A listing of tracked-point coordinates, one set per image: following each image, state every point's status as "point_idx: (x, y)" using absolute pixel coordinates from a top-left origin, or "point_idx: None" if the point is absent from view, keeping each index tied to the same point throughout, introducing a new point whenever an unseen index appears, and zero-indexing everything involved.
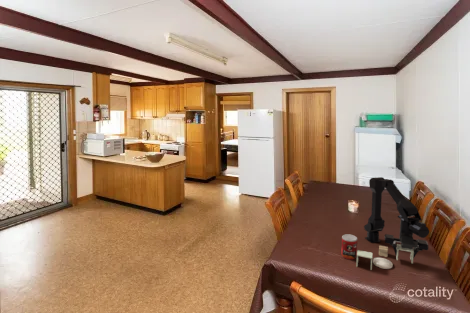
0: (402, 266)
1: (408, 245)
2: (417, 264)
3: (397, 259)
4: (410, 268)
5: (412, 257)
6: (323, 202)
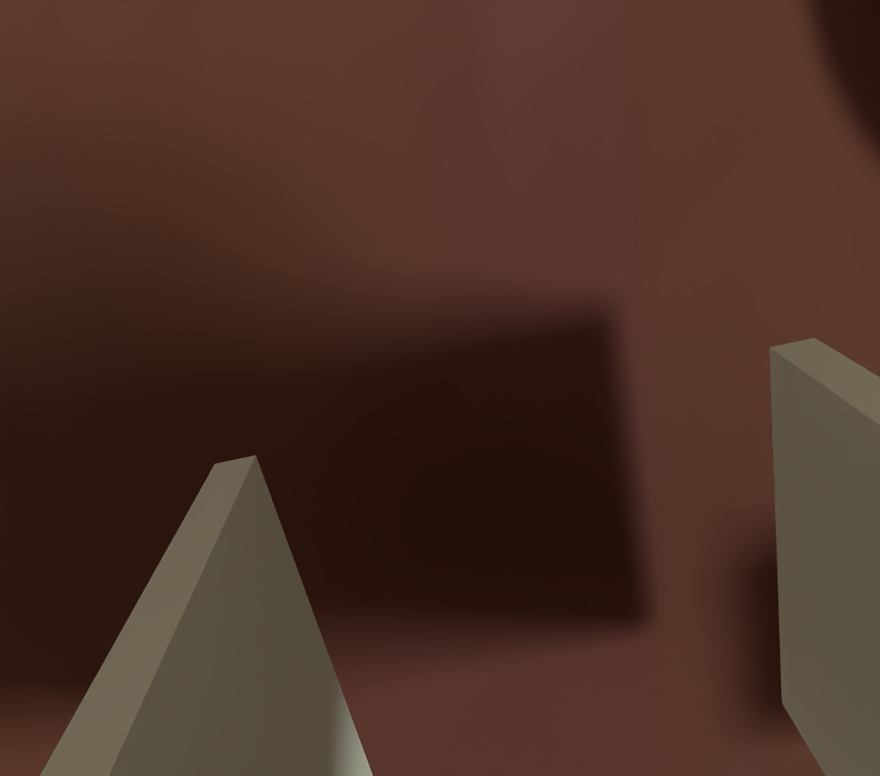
0: (538, 173)
1: None
2: None
3: (808, 362)
4: (264, 207)
5: (139, 666)
6: None
